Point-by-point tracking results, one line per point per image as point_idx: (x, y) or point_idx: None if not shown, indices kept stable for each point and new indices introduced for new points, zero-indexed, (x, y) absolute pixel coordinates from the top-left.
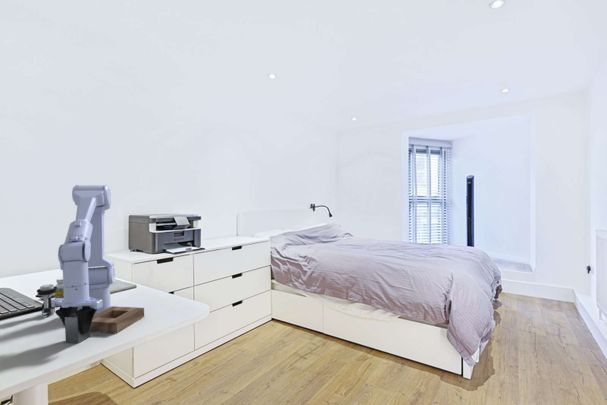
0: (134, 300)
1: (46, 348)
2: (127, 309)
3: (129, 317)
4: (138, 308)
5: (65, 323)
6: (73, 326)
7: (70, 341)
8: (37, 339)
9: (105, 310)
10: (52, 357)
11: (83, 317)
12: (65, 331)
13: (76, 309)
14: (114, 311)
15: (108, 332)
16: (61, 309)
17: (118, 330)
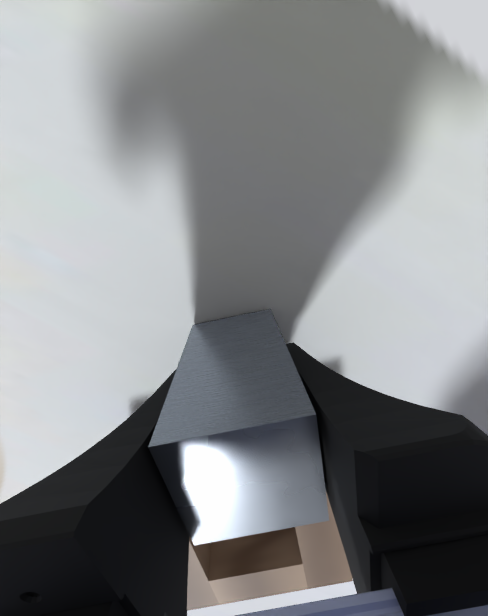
0: None
1: (305, 228)
2: (234, 585)
3: None
4: (194, 603)
5: (291, 370)
6: (211, 372)
7: (240, 316)
8: (462, 280)
9: (337, 552)
10: (150, 164)
11: (63, 469)
12: (281, 336)
13: (344, 544)
14: (291, 556)
15: None
16: (450, 505)
17: None
